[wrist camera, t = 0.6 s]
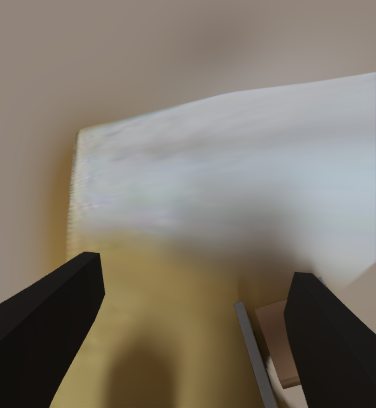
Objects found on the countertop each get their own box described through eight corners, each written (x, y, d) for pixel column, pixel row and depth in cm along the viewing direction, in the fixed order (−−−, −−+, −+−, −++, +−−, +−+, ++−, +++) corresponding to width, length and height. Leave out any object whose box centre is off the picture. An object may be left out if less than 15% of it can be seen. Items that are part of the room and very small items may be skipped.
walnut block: (342, 373, 19) (352, 361, 15) (283, 389, 19) (279, 380, 16) (311, 313, 22) (314, 291, 18) (261, 327, 22) (254, 309, 19)
